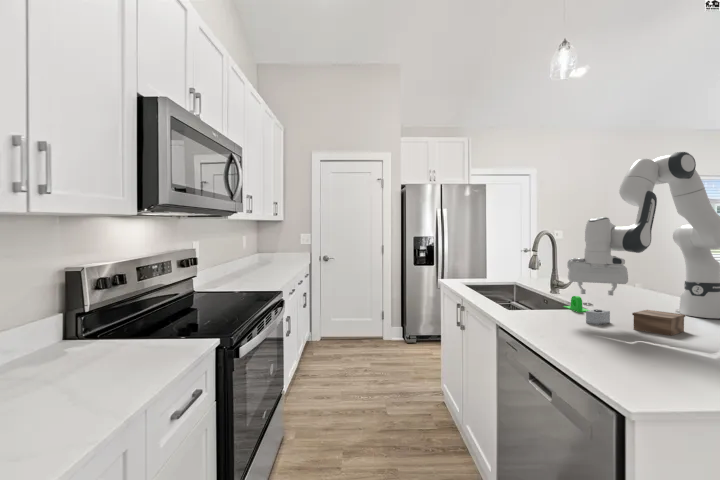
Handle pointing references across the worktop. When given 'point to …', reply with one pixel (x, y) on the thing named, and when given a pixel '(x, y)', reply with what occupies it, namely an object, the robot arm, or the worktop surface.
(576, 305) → the mechanical part
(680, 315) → the walnut stand
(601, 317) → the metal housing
